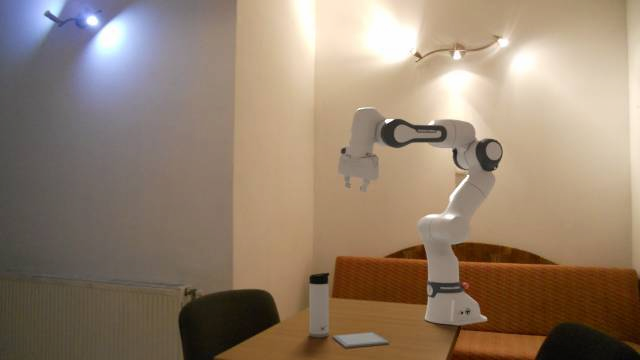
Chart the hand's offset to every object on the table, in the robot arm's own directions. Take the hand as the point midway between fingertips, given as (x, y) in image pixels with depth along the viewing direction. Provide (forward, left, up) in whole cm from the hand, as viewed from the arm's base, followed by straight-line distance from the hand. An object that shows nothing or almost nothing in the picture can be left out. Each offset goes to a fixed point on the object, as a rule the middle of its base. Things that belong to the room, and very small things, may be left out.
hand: (354, 189), depth 166 cm
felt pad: (+7, +20, -48) cm, 52 cm away
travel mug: (+17, +10, -48) cm, 52 cm away
